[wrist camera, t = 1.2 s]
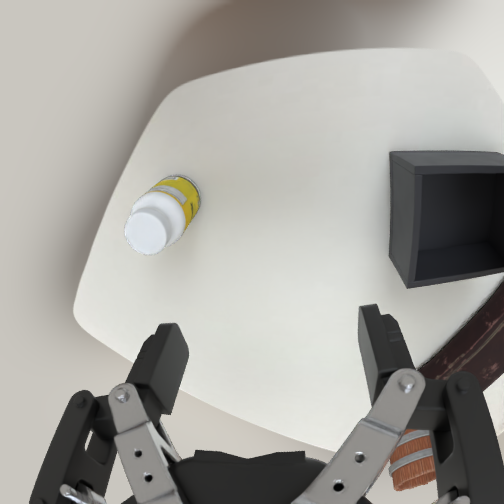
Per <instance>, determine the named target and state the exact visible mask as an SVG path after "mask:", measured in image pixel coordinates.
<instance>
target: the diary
mask: <svg viewBox="0 0 504 504" xmlns="http://www.w3.org/2000/svg"><path fill="white" fill-rule="evenodd" d="M418 371H419V372H420V373H421V374H422V375H423V376H424V377H426V378H429V379H438V380H448V378H449V377H450V376H451V375H452V374H453V373H455V372H458V371H467V372H470V373H472V374H473V375H474V376H476V378H477V379H478V381H479V384H480V386H481V389H482V392H483V391H484V390H485V389H486V388H488V387H489V386H490V385H491V384H492V383H493V382H494V381H495V380H497V379H498V378H499V377H500V376H501V375H502V374H503V373H504V282H503V283H502V285H501V286H500V287H499V289H498V290H497V291H496V292H495V294H494V295H493V296H492V297H491V299H490V300H489V301H488V302H487V304H486V305H485V306H484V307H483V308H482V309H481V310H480V311H479V312H478V313H477V314H476V315H475V316H474V317H473V319H472V320H471V321H470V322H469V323H468V324H467V325H466V326H465V327H464V328H463V329H462V330H461V331H460V332H459V333H458V334H457V335H456V336H455V337H454V338H453V339H452V340H451V342H450V343H449V344H448V345H447V346H446V347H445V348H444V349H443V350H442V351H441V352H440V353H439V354H438V355H436V356H435V357H434V358H433V359H432V360H431V361H429V362H428V363H427V364H426V365H425V366H423V367H422V368H421V369H420V370H418Z"/></svg>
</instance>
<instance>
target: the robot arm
mask: <svg viewBox="0 0 504 504" xmlns="http://www.w3.org/2000/svg"><path fill="white" fill-rule="evenodd" d="M358 342H359V347H360V352H361V356H362V361H363V365H364V370H365V375H366V380H367V385H368V390H369V395H370V400H371V406H372V408H371V410H370V411H369V413H368V414H367V416H366V417H365V418H362V419H361V420H360V421H359V422H358V424H357V425H356V426H355V428H354V429H353V431H352V432H351V434H350V435H349V436H348V438H347V439H346V441H345V442H344V443H343V445H342V446H341V447H340V449H339V450H338V451H337V453H336V454H335V455H334V457H333V458H332V459H331V460H330V462H329V463H328V464H326V463H325V462H322V461H319V460H317V459H313V458H308V457H306V456H305V451H295V452H276V453H272V454H268V455H263V456H259V457H254V458H249V459H246V458H242V457H238V456H234V455H231V454H227V453H223V452H218V451H204V450H195V454H194V456H193V457H189V458H186V459H182V458H181V457H180V456H179V454H178V453H177V452H176V450H175V448H174V446H173V444H172V442H171V440H170V438H169V436H168V434H167V432H166V430H165V428H164V426H163V424H162V422H161V420H160V417H161V414H166V415H171V413H172V409H173V406H174V403H175V399H176V396H177V393H178V390H179V387H180V384H181V380H182V377H183V374H184V371H185V368H186V365H187V362H188V358H189V349H188V346H187V343H186V341H185V339H184V337H183V335H182V333H181V330H180V328H179V326H178V324H176V323H163V324H160V325H159V326H158V328H157V330H156V332H155V335H151V336H150V337H149V338H148V339H147V340H146V341H145V342H144V343H143V345H142V348H141V350H140V352H139V354H138V356H137V359H136V360H135V362H134V364H133V367H132V369H131V371H130V373H129V375H128V377H127V380H126V382H125V383H122V384H119V385H117V386H116V387H114V388H113V389H112V390H111V392H110V393H109V395H105V396H99V397H94V396H93V395H92V393H91V392H90V391H87V390H82V391H79V392H77V393H75V394H74V395H73V396H72V398H71V399H70V401H69V403H68V405H67V407H66V410H65V412H64V414H63V416H62V418H61V421H60V423H59V425H58V427H57V430H56V432H55V435H54V437H53V439H52V441H51V444H50V446H49V449H48V451H47V454H46V456H45V459H44V461H43V464H42V466H41V469H40V472H39V474H38V478H37V480H36V483H35V486H34V489H33V491H32V494H31V497H30V501H29V504H107V503H106V500H105V499H104V496H105V493H106V489H107V485H108V482H109V478H110V474H111V471H112V467H113V464H114V461H115V457H116V454H117V451H118V453H119V456H120V459H121V462H122V465H123V467H124V471H125V473H126V476H127V478H128V481H129V484H130V486H131V489H132V491H133V494H134V495H133V496H131V497H130V498H128V499H127V500H126V501H124V502H123V503H121V504H372V503H371V502H370V501H369V500H368V499H367V498H366V497H365V496H366V494H367V493H368V492H369V490H370V489H371V487H372V486H373V484H374V483H375V482H376V480H377V479H378V477H379V476H380V474H381V472H382V471H383V469H384V467H385V465H386V464H387V462H388V461H389V459H390V458H391V456H392V454H393V453H394V451H395V449H396V447H397V446H398V444H399V442H400V440H401V439H402V437H403V435H404V433H405V431H406V430H407V429H415V430H429V435H430V440H431V446H432V452H433V459H434V465H435V473H436V481H437V490H438V500H436V501H435V502H433V503H432V504H504V465H503V460H502V456H501V452H500V448H499V444H498V440H497V436H496V433H495V429H494V426H493V422H492V419H491V416H490V413H489V409H488V406H487V403H486V400H485V397H484V395H483V392H482V389H481V386H480V384H479V381H478V379H477V378H476V376H474V375H473V374H472V373H470V372H467V371H458V372H455V373H453V374H452V375H451V376H450V377H449V378H448V380H438V379H429V378H426V377H424V376H423V375H422V374H421V373H420V372H419V371H417V370H416V369H415V367H414V365H413V362H412V359H411V356H410V354H409V351H408V348H407V345H406V343H405V340H404V337H403V335H402V332H401V330H400V327H399V325H398V322H397V321H396V320H395V319H394V318H393V317H392V316H391V315H390V314H386V315H381V314H380V311H379V309H378V306H377V304H371V305H364V306H359V317H358ZM90 430H91V431H92V432H93V434H92V436H91V439H90V442H89V445H88V448H87V450H86V451H85V443H86V440H87V437H88V435H89V432H90Z"/></svg>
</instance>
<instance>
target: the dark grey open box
mask: <svg viewBox="0 0 504 504" xmlns="http://www.w3.org/2000/svg"><path fill="white" fill-rule="evenodd" d="M390 177H391V220H390V246H389V257H390V259H391V261H392V262H393V264H394V266H395V268H396V270H397V271H398V273H399V275H400V277H401V279H402V280H403V282H404V284H405V286H406V288H407V289H408V288H415V287H422V286H428V285H435V284H441V283H447V282H453V281H459V280H464V279H470V278H476V277H481V276H486V275H492V274H497V273H502V272H504V155H503V154H500V153H498V152H481V151H394V152H390Z"/></svg>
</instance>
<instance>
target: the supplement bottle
mask: <svg viewBox="0 0 504 504" xmlns="http://www.w3.org/2000/svg"><path fill="white" fill-rule="evenodd" d="M200 202H201V196H200V192H199V189H198V187H197V186H196V185H195V183H194V182H193V181H192V180H190V179H189V178H187V177H185V176H181V175H171V176H168V177H166V178H164V179H163V180H161V181H160V182H159V183H157V184H156V185H155V186H154V187H152V188H151V189H150V190H149V191H147V192H146V193H145V194H144V195H142V196H141V197H140V198H139V199H138V200H137V201H136V202H135V203H134V205H133V207H132V210H131V214H130V217H129V218H128V220H127V221H126V224H125V228H124V232H125V237H126V240H127V242H128V243H129V245H130V246H131V247H132V248H133V249H134V250H135V251H137V252H139V253H141V254H144V255H154V254H157V253H159V252H160V251H162V250H163V249H164V247H167V246H170V245H172V244H174V243H175V242H176V241H177V240H178V239H179V238H180V237H181V236H182V234H183V233H184V231H185V230H186V228H187V227H188V225H189V223H190V222H191V220H192V219H193V217H194V216H195V214H196V213H197V211H198V209H199V207H200Z"/></svg>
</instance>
